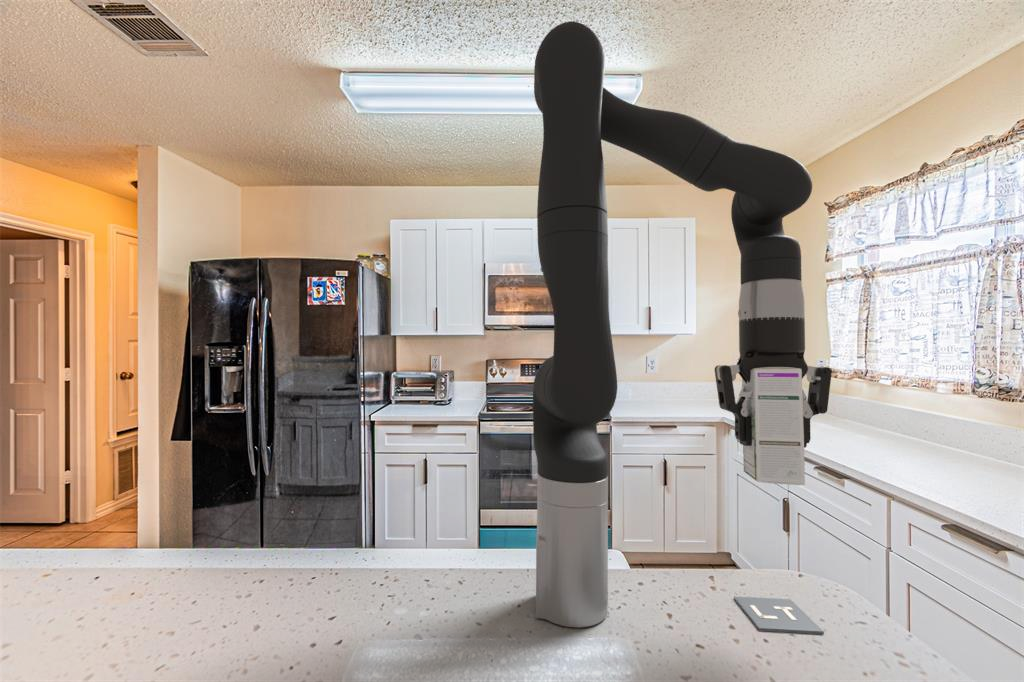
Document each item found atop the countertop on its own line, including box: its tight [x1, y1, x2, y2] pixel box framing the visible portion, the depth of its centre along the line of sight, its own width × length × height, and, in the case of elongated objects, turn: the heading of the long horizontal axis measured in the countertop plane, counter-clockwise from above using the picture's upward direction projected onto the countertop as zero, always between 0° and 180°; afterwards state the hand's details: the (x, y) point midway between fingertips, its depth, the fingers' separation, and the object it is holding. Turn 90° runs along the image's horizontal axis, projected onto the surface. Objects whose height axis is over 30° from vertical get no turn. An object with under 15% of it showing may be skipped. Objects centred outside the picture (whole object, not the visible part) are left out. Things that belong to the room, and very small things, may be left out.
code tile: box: [733, 595, 825, 635], centre depth 58 cm, size 7×7×1 cm
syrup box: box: [741, 367, 806, 486], centre depth 59 cm, size 6×6×14 cm
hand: (772, 445), depth 59 cm, fingers closed on syrup box, 6 cm apart
